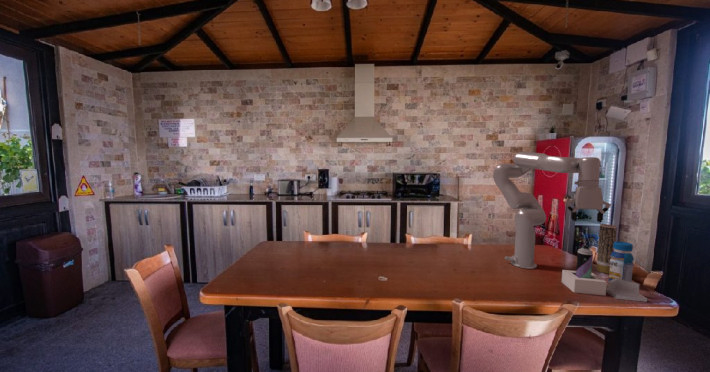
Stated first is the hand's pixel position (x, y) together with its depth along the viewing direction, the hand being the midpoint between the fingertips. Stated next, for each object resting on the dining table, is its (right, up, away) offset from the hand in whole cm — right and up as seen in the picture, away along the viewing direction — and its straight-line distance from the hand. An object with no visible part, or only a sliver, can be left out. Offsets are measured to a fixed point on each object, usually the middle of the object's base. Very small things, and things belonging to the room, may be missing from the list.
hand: (586, 221), depth 138 cm
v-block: (+9, -31, -9) cm, 34 cm away
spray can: (-3, -31, -2) cm, 31 cm away
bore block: (-3, -30, -2) cm, 31 cm away
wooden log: (+25, -30, +20) cm, 44 cm away
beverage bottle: (+18, -31, +4) cm, 36 cm away
